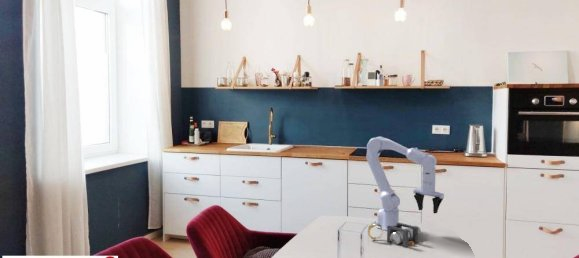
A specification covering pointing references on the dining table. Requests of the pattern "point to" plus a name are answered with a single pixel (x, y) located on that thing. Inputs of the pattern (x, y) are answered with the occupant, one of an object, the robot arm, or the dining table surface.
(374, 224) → the alarm clock
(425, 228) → the dining table surface
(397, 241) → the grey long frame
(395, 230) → the black bracket with roller
